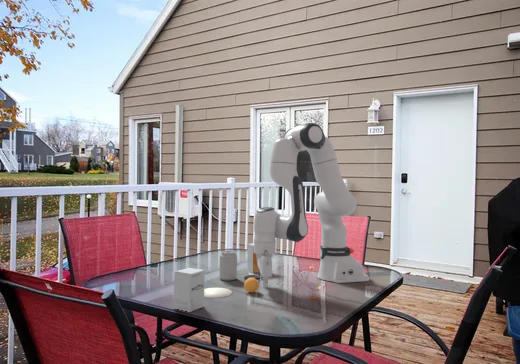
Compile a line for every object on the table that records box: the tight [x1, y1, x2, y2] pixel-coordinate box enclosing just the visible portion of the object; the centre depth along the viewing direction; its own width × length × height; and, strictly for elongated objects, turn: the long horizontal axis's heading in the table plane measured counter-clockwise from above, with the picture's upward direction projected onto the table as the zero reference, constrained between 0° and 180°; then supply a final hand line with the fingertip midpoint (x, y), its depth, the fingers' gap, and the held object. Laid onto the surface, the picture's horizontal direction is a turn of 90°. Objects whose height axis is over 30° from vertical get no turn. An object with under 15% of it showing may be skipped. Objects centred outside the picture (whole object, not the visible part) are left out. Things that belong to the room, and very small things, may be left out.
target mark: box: [204, 287, 233, 299], centre depth 147 cm, size 13×13×1 cm
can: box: [219, 250, 238, 282], centre depth 168 cm, size 8×8×12 cm
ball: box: [243, 277, 260, 294], centre depth 148 cm, size 6×6×6 cm
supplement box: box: [173, 267, 206, 313], centre depth 129 cm, size 7×7×13 cm
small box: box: [246, 242, 260, 274], centre depth 183 cm, size 8×6×13 cm
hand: (264, 283), depth 152 cm, fingers open, 8 cm apart
